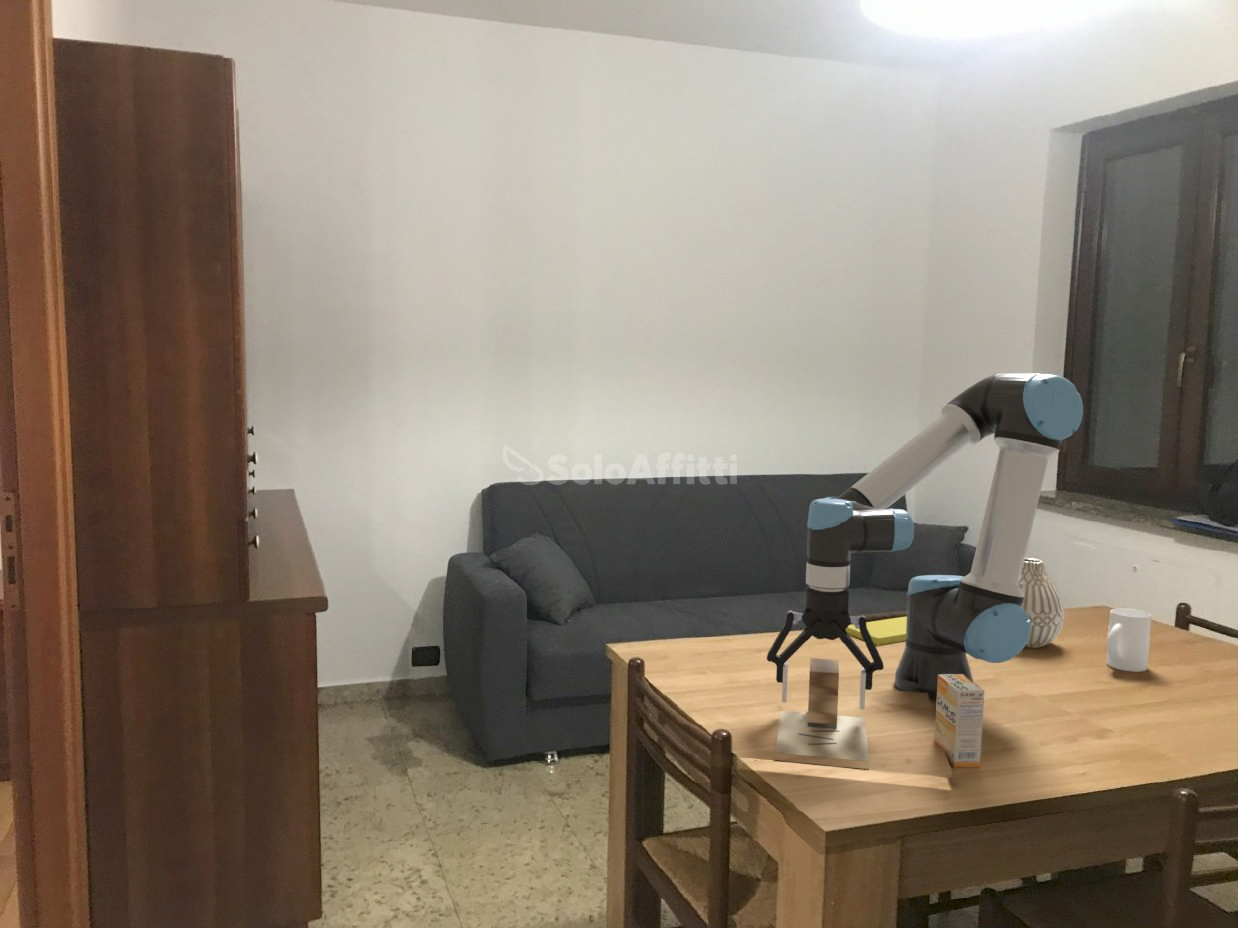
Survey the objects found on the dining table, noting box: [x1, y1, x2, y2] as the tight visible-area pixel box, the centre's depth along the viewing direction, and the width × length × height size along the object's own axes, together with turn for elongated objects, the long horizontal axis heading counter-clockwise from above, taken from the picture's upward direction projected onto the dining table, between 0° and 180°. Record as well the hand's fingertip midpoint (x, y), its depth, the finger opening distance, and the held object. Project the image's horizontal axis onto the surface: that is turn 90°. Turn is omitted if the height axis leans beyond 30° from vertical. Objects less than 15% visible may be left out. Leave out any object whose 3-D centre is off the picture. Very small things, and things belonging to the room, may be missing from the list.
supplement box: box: [934, 674, 985, 768], centre depth 162 cm, size 8×5×13 cm, turn 5°
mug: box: [1106, 607, 1152, 673], centre depth 213 cm, size 8×12×12 cm
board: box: [774, 710, 870, 771], centre depth 168 cm, size 15×20×2 cm
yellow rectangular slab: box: [846, 615, 907, 646], centre depth 239 cm, size 12×2×24 cm
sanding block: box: [807, 657, 840, 729], centre depth 174 cm, size 5×8×10 cm, turn 168°
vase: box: [1018, 557, 1065, 649], centre depth 231 cm, size 16×16×20 cm
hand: (822, 703), depth 175 cm, fingers open, 13 cm apart
